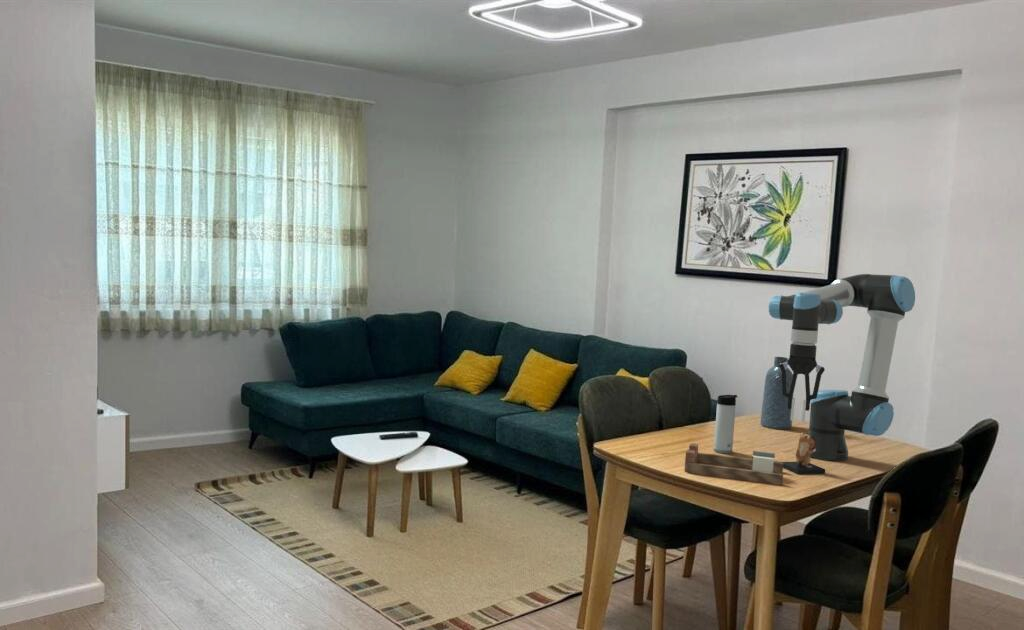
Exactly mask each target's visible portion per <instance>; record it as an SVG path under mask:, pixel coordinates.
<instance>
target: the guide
mask: <svg viewBox="0 0 1024 630" xmlns="http://www.w3.org/2000/svg"><path fill="white" fill-rule="evenodd" d="M698 462H699V463H698ZM781 462H782V461H773V473H770V472H762V471H754V470H752V467H753V458H750V457H749V458H747V457H740V456H731V455H725V454H724V455H723V454H715V453H706V452H701V451H700V452H699V444H698V443H689V446H688V449H686V451H685V458H684V472H686V473H687V474H694V475H700V476H701V475H702V476H710V477H715V478H722V479H723V478H725V479H732V480H739V481H747V482H753V483H754V482H755V483H764V484H770V485H779V486H783V481H784V473H783V471H784V468H783V463H781ZM706 463H707V464H706ZM714 464H715V465H714Z"/></svg>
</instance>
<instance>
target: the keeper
mask: <svg viewBox="0 0 1024 630" xmlns="http://www.w3.org/2000/svg"><path fill="white" fill-rule="evenodd" d="M752 451H753V452H752V457H753V458H752V459H753V467H752V469H751V470H754V471H762V472H770V473H774V472H773V462H775V461H774V459H775V455H776V453H775V452H767V451H760V450H759V451H758V450H752Z"/></svg>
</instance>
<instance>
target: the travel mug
mask: <svg viewBox="0 0 1024 630" xmlns="http://www.w3.org/2000/svg"><path fill="white" fill-rule="evenodd" d="M737 398H738V395H737V394H723V395H722V394H720V395H718V396H717V402H716V415H715V426H714V437H713V438H714V441H713V451H714V453H715V452H716V453H718V454H722V455H723V454H724V455H725V454H726V455H729V454H730V455H731V454H732V453H733V447H734V446H733V445H734V431H735V420H736V419H735V418H736V405H737V403H736V402H737Z"/></svg>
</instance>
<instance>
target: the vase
mask: <svg viewBox="0 0 1024 630" xmlns="http://www.w3.org/2000/svg"><path fill="white" fill-rule="evenodd" d="M788 359H789V357H784V356H775V357H774V360H773V361H774V362H773V366H771V367H770V368H769V369H768V371H767V373H766V375H765V380H764V387H763V395H762V397H763V398H762V405H761V412H760V413H761V415H760V422H759V423H760V426H762V427H764V426H765V427H764V428H767V427H768V428H769V429H772V428H774V430H789V428H790V429H791V428H792V427H793V421H792V420H791V409H788V398H787V397H786V396H783V394H782V371H781V369H780V367H779V364H780V363H785V362H787V361H788ZM792 377H793V371H792V370H791V368H790V367H788V366H787V369H786V391H787V392H788V393H789V390H790V386H791V381H792Z"/></svg>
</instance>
